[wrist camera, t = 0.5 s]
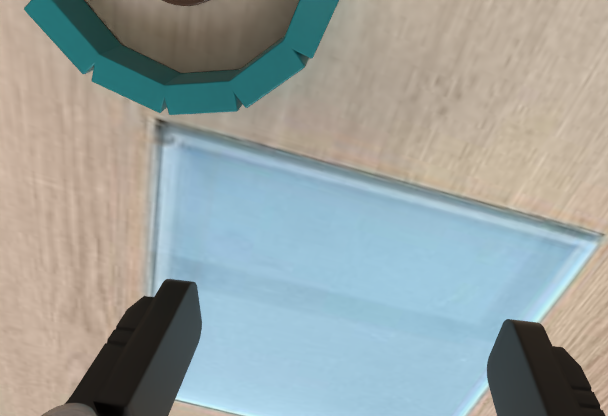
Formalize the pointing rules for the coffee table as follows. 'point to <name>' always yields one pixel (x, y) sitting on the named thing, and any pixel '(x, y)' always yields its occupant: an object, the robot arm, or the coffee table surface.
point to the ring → (167, 82)
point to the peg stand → (185, 2)
